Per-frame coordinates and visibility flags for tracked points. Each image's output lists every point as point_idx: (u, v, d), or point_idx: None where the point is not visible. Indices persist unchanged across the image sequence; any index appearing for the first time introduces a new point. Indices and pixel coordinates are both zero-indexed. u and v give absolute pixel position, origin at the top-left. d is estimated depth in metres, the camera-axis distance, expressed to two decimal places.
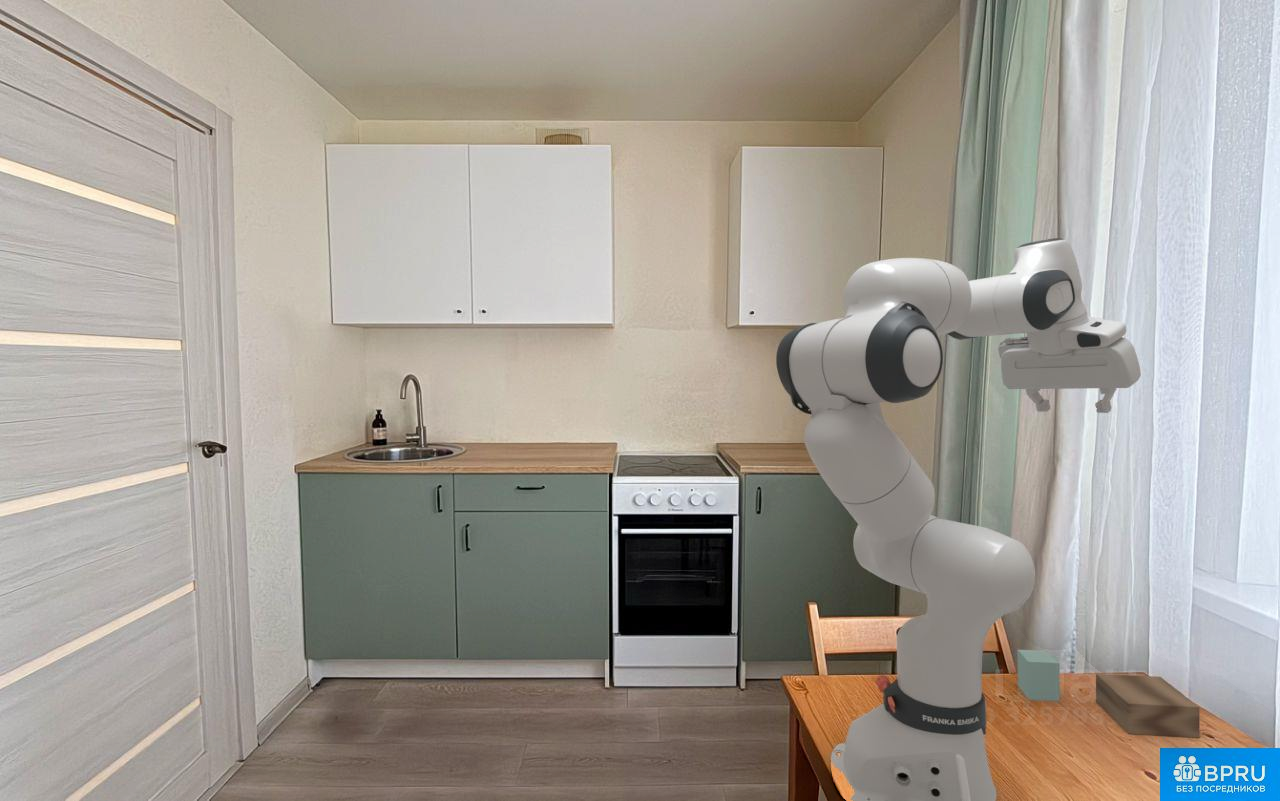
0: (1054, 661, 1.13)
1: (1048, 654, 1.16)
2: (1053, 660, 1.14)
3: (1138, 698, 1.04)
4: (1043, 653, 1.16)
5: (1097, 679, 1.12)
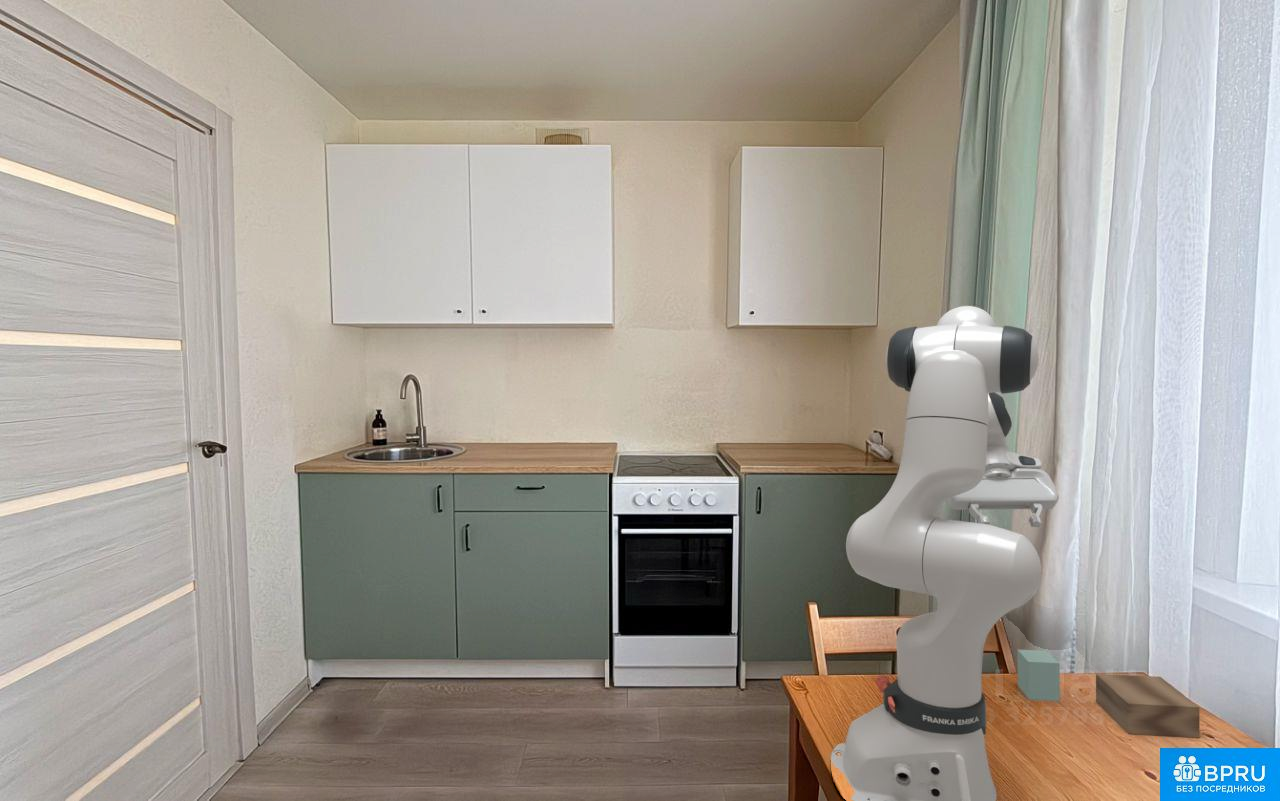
0: (1054, 661, 1.13)
1: (1048, 654, 1.16)
2: (1053, 660, 1.14)
3: (1138, 698, 1.04)
4: (1043, 653, 1.16)
5: (1097, 679, 1.12)
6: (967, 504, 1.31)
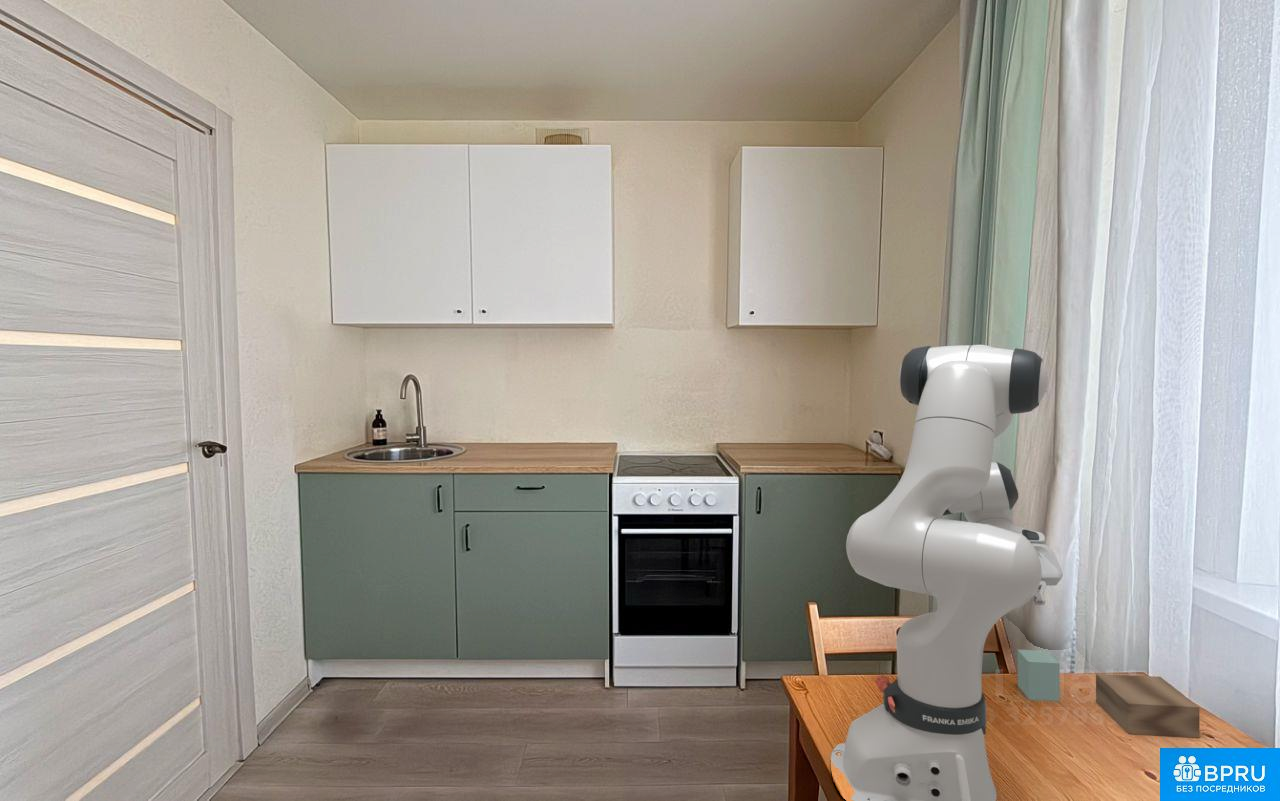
0: (1054, 661, 1.13)
1: (1048, 654, 1.16)
2: (1053, 660, 1.14)
3: (1138, 698, 1.04)
4: (1043, 653, 1.16)
5: (1097, 679, 1.12)
6: None
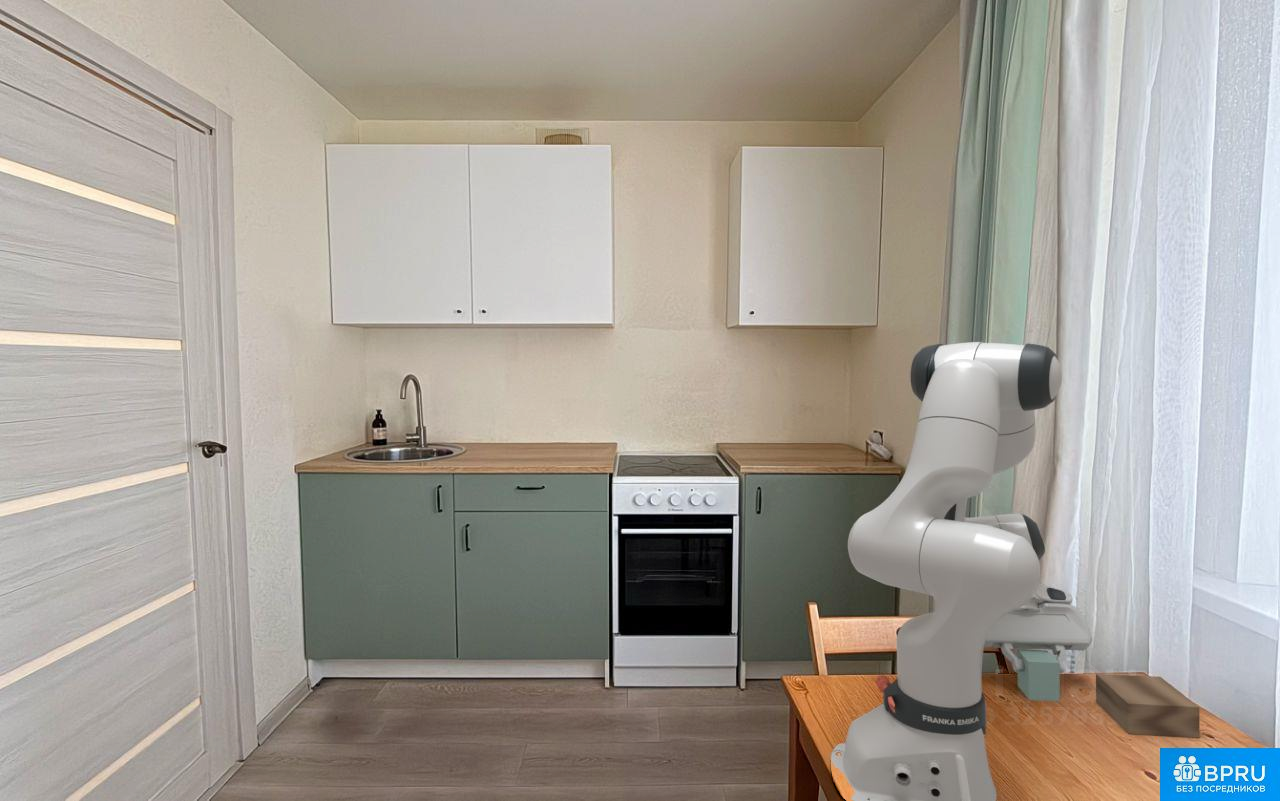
0: (1053, 661, 1.13)
1: (1048, 654, 1.16)
2: (1053, 660, 1.14)
3: (1138, 698, 1.04)
4: (1043, 653, 1.16)
5: (1097, 679, 1.12)
6: (991, 643, 1.19)
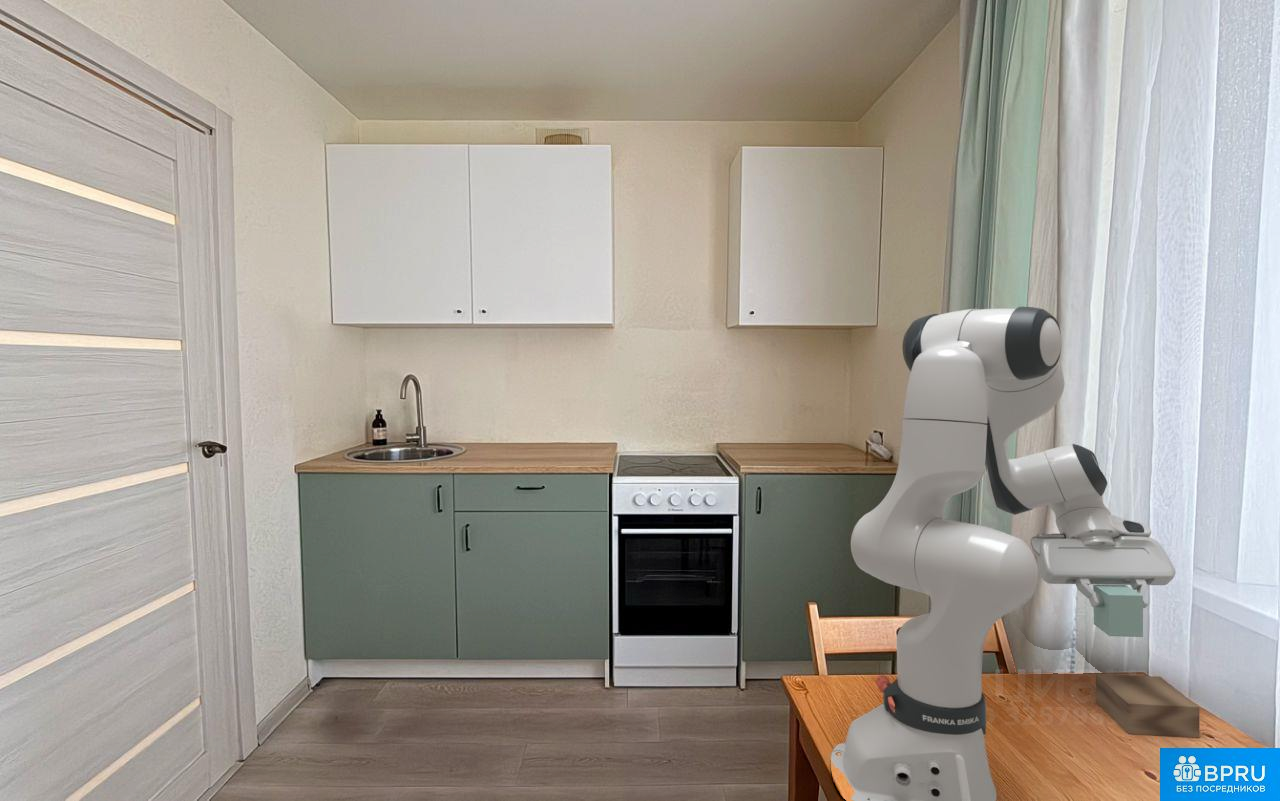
0: (1136, 594, 1.06)
1: (1128, 588, 1.08)
2: (1135, 593, 1.06)
3: (1138, 698, 1.04)
4: (1122, 587, 1.09)
5: (1097, 679, 1.12)
6: (1065, 578, 1.11)
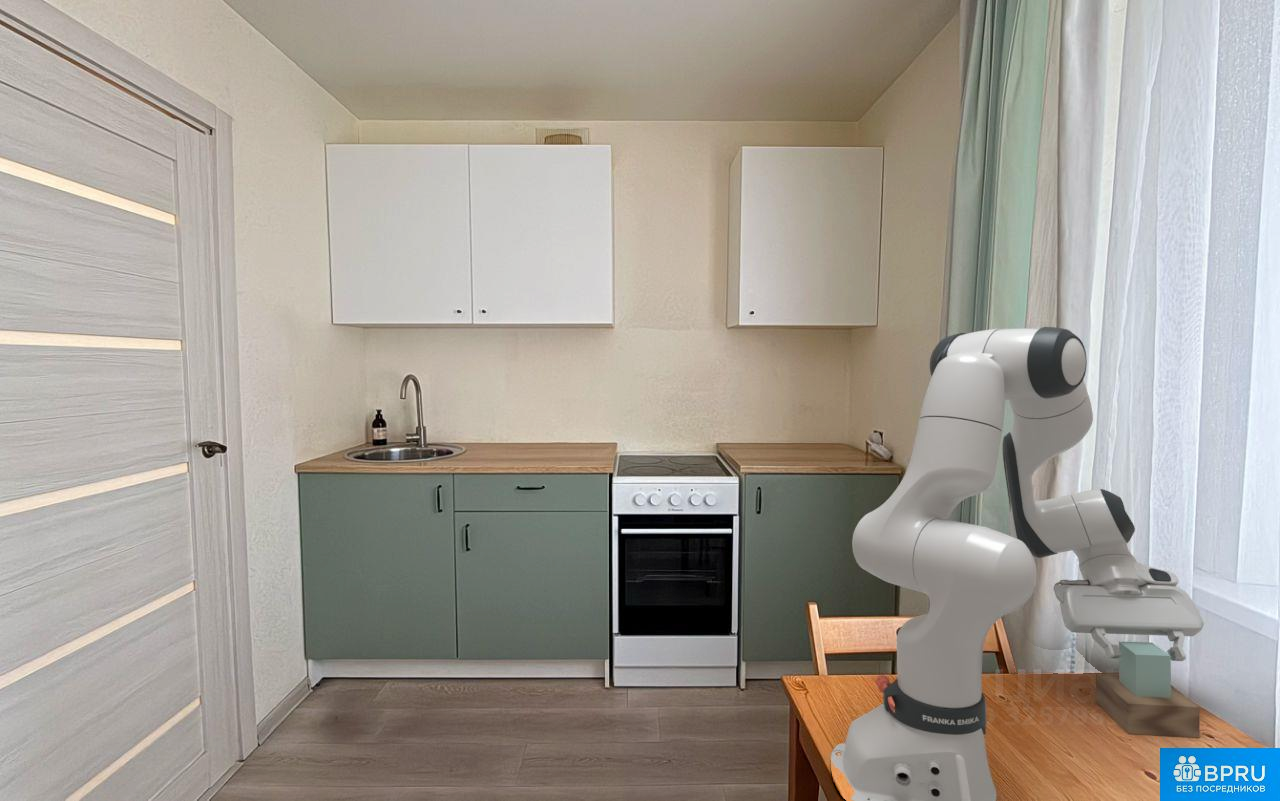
0: (1164, 654, 1.04)
1: (1155, 646, 1.06)
2: (1163, 653, 1.04)
3: (1138, 698, 1.04)
4: (1149, 645, 1.07)
5: (1097, 679, 1.12)
6: (1090, 628, 1.09)
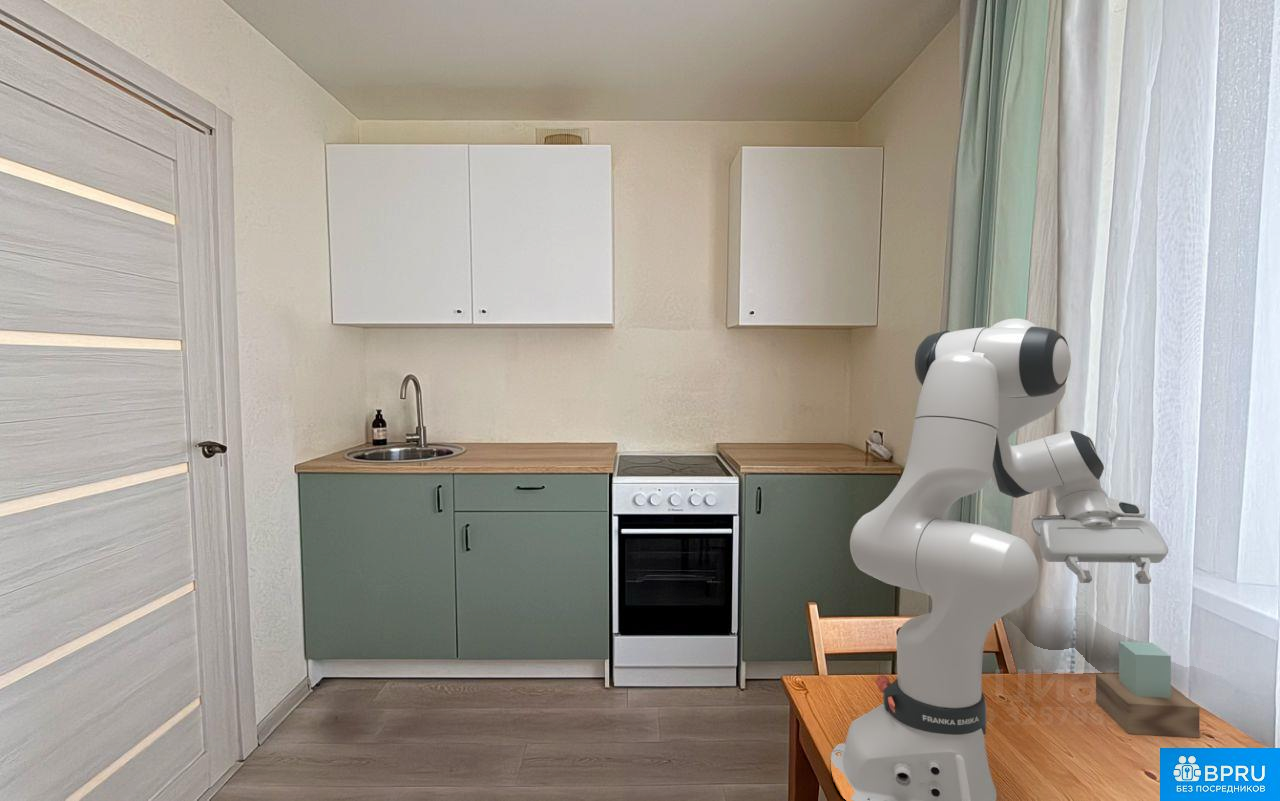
0: (1164, 654, 1.04)
1: (1155, 646, 1.06)
2: (1163, 653, 1.04)
3: (1138, 698, 1.04)
4: (1149, 645, 1.07)
5: (1097, 679, 1.12)
6: (1064, 556, 1.18)
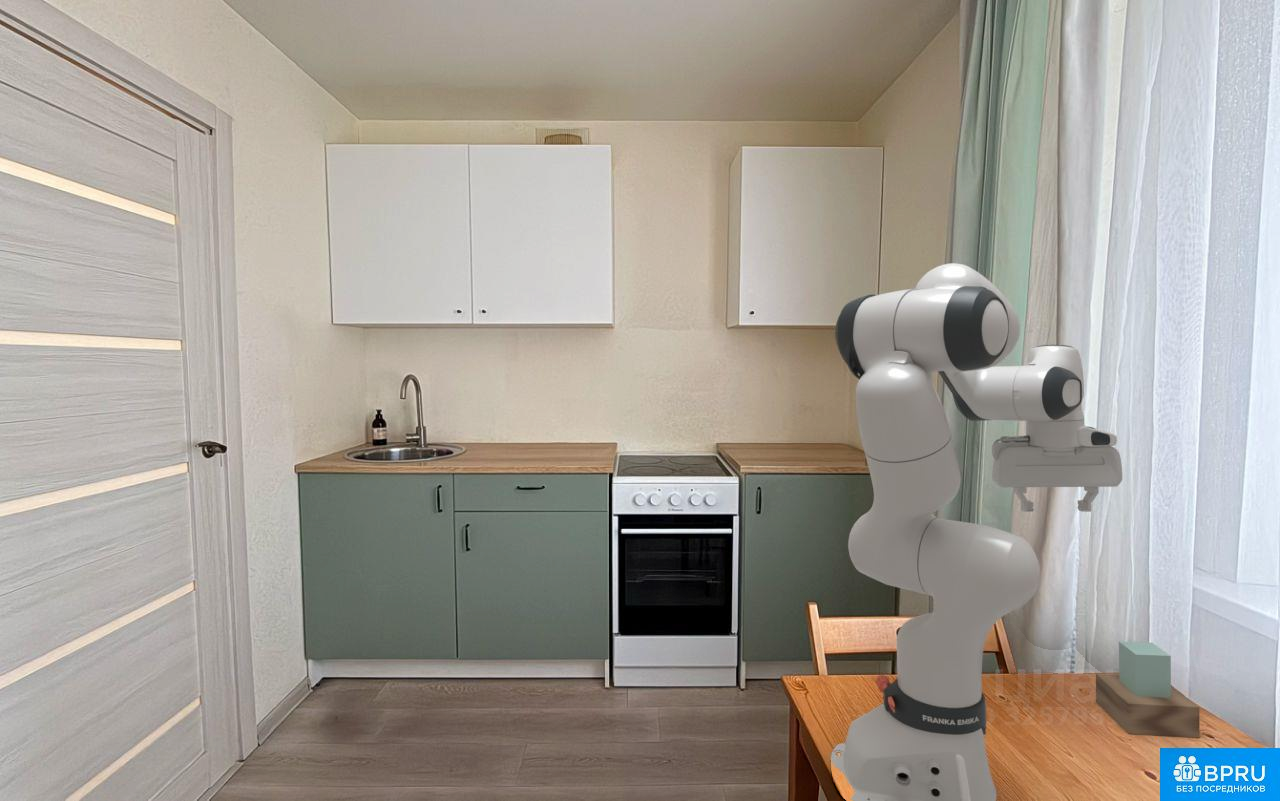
0: (1164, 654, 1.04)
1: (1155, 646, 1.06)
2: (1163, 653, 1.04)
3: (1138, 698, 1.04)
4: (1149, 645, 1.07)
5: (1097, 679, 1.12)
6: (1014, 486, 1.16)
